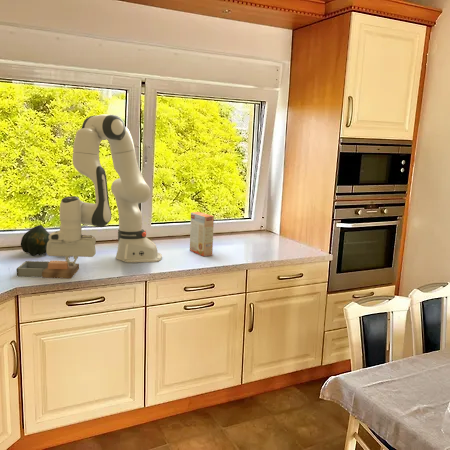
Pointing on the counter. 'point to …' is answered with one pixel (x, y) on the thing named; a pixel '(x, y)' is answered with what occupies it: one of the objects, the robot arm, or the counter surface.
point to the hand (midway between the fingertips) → (71, 265)
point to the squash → (35, 241)
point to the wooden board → (60, 272)
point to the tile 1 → (53, 265)
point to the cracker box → (201, 233)
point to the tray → (32, 268)
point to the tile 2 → (63, 265)
